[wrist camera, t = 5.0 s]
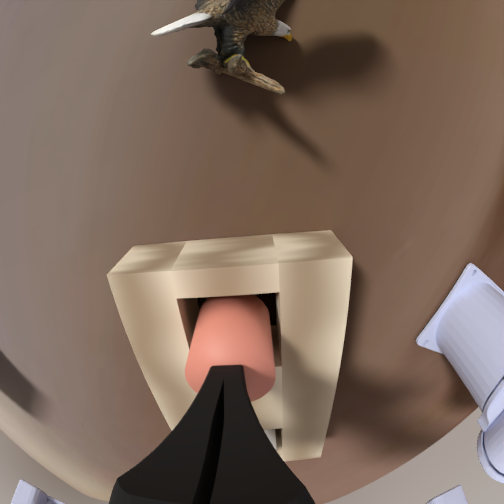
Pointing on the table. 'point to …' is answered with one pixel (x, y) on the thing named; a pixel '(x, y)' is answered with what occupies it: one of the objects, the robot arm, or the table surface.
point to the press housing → (244, 283)
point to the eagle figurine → (233, 36)
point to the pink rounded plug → (233, 342)
